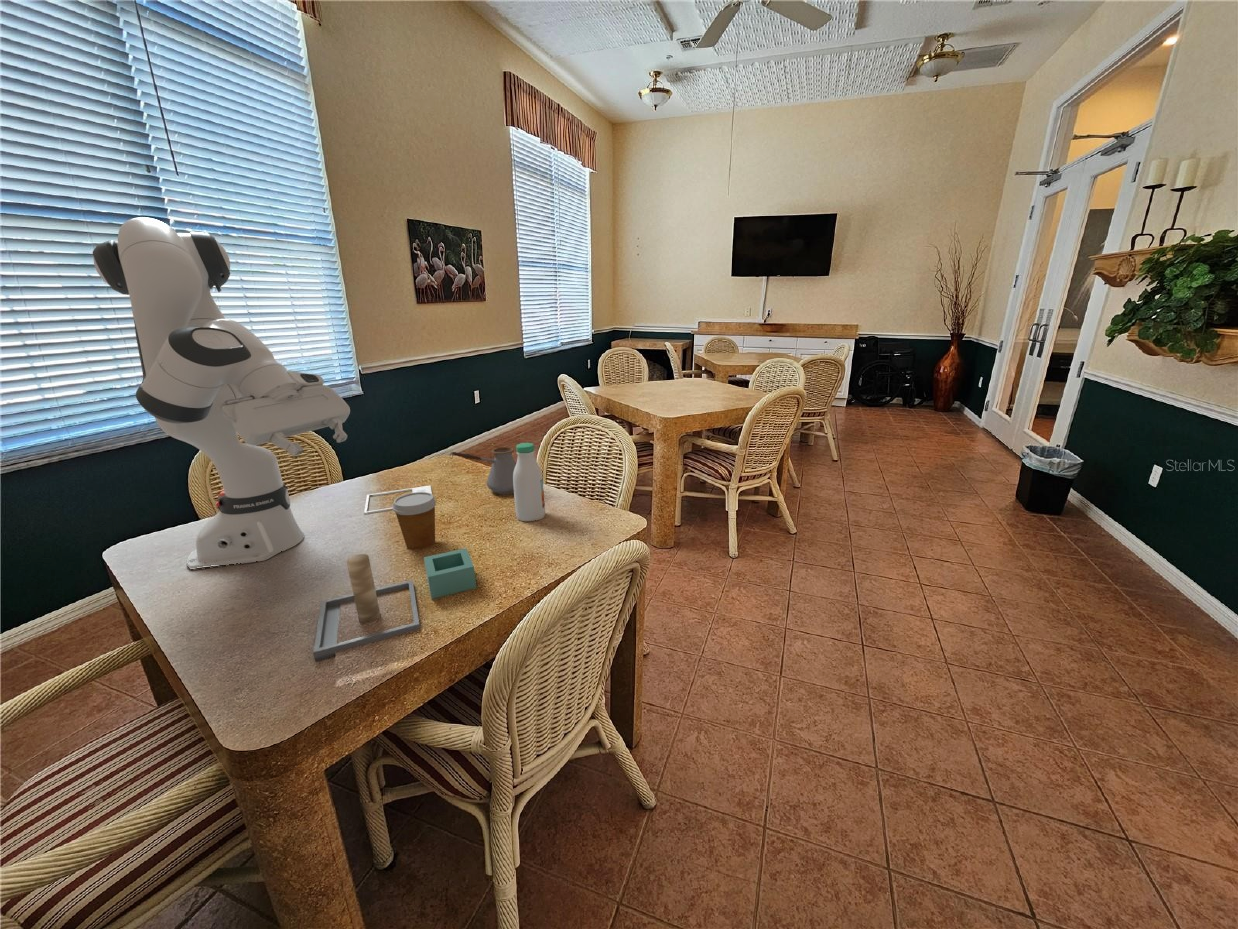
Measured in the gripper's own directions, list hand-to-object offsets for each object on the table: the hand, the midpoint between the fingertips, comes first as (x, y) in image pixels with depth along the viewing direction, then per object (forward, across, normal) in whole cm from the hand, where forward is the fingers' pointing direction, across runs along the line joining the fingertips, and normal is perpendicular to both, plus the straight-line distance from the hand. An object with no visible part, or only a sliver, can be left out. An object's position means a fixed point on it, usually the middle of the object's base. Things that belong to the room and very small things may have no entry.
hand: (322, 446), depth 93 cm
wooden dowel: (+31, -9, +10) cm, 33 cm away
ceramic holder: (+36, +6, +6) cm, 37 cm away
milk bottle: (+34, +41, +8) cm, 54 cm away
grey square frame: (+31, -9, +10) cm, 34 cm away
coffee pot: (+20, +52, +22) cm, 59 cm away
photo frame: (+4, +39, +39) cm, 55 cm away
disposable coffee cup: (+22, +18, +19) cm, 35 cm away
